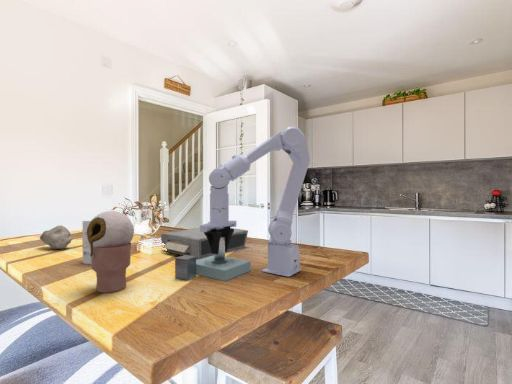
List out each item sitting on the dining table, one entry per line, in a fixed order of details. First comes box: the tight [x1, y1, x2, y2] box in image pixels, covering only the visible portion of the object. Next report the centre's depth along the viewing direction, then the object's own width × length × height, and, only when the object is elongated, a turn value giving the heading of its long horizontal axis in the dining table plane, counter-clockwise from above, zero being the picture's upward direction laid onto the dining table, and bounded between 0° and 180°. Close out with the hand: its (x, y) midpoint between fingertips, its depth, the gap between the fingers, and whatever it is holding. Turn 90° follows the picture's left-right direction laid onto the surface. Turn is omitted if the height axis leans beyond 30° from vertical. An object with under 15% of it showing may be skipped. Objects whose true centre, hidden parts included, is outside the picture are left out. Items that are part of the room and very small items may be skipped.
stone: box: [39, 224, 73, 250], centre depth 124 cm, size 9×14×10 cm, turn 59°
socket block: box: [196, 255, 252, 282], centre depth 90 cm, size 15×12×3 cm
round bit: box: [214, 236, 226, 261], centre depth 90 cm, size 3×3×7 cm
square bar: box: [174, 255, 197, 282], centre depth 84 cm, size 4×4×6 cm
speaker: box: [160, 226, 249, 260], centre depth 122 cm, size 24×8×30 cm
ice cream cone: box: [86, 210, 135, 294], centre depth 75 cm, size 11×11×20 cm
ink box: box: [81, 220, 91, 265], centre depth 101 cm, size 8×5×15 cm, turn 72°
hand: (219, 252), depth 90 cm, fingers closed on round bit, 3 cm apart
